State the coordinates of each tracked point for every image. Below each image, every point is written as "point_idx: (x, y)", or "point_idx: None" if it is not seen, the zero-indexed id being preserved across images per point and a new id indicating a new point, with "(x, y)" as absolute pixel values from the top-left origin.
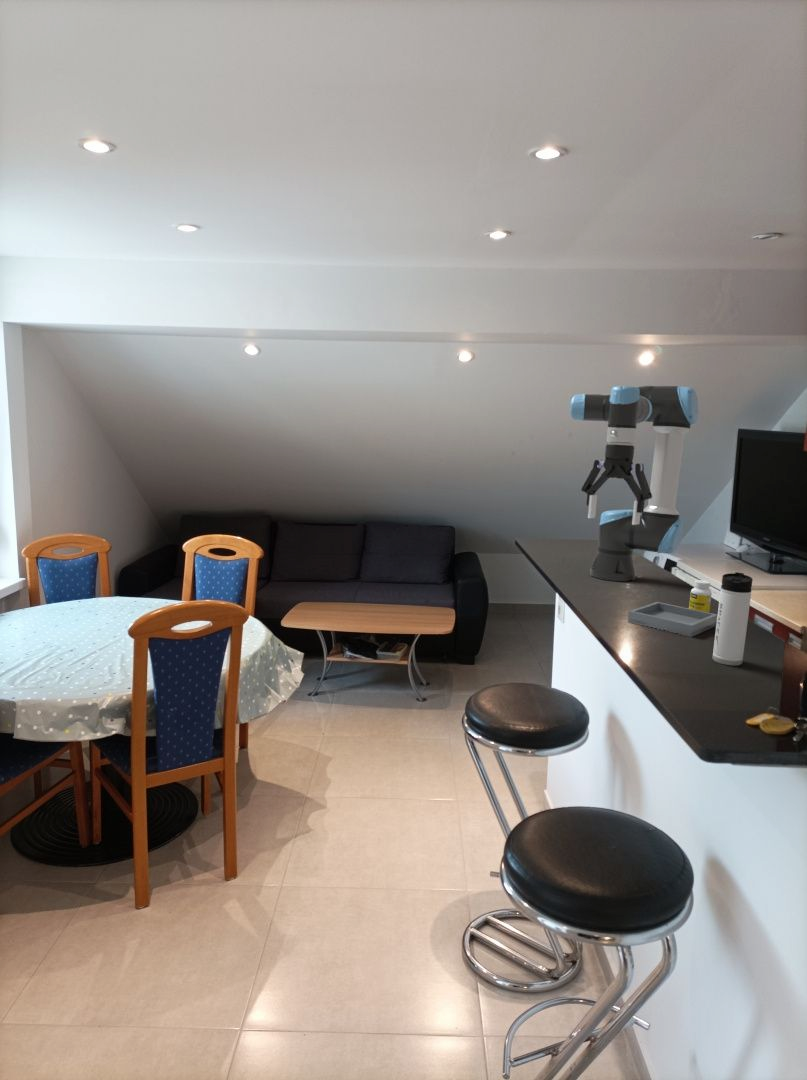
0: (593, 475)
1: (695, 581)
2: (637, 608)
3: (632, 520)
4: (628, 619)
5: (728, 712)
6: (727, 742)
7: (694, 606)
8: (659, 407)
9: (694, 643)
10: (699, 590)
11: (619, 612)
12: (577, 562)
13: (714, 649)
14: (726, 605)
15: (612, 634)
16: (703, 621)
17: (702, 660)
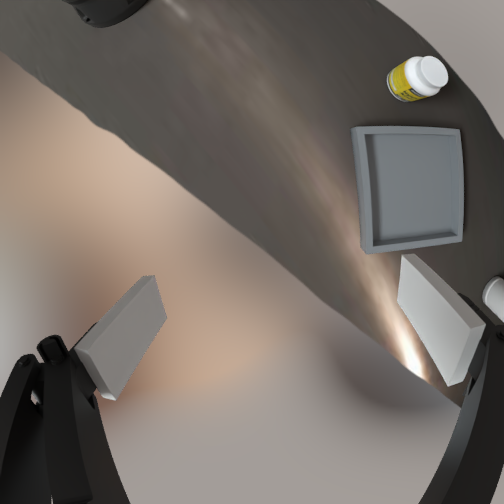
0: (48, 495)
1: (428, 80)
2: (366, 220)
3: (404, 311)
4: (362, 248)
5: None
6: None
7: (412, 99)
8: None
9: (461, 259)
10: (431, 90)
11: (312, 198)
12: (45, 6)
13: (489, 307)
14: None
15: (375, 322)
16: (463, 194)
17: None
